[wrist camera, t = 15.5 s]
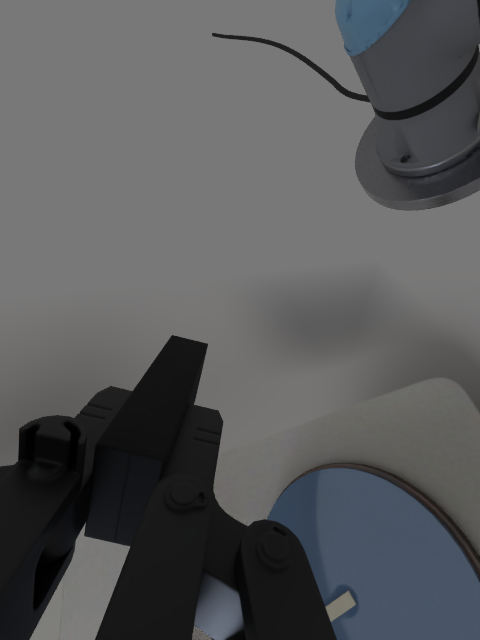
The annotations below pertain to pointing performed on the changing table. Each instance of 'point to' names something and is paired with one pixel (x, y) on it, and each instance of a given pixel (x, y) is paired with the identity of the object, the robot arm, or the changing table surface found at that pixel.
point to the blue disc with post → (381, 558)
